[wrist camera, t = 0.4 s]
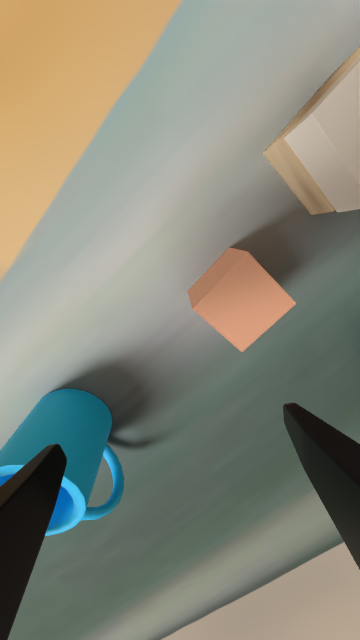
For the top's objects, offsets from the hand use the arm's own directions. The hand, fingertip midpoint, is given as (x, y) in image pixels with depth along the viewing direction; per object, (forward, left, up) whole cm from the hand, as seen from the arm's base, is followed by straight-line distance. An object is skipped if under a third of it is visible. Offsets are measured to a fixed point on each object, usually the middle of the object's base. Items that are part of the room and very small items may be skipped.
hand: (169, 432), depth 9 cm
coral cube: (-5, -3, -13) cm, 14 cm away
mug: (+10, +12, -13) cm, 21 cm away
